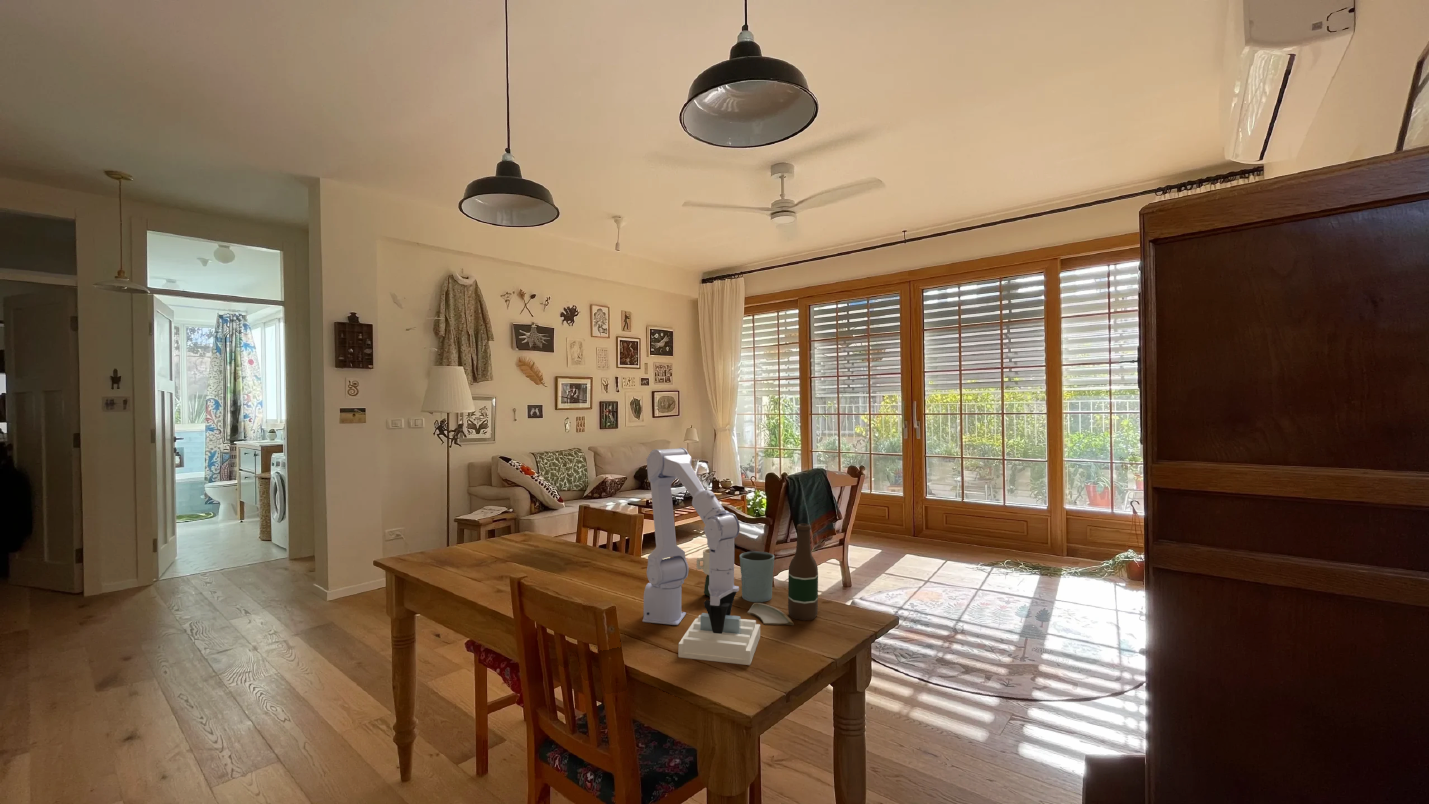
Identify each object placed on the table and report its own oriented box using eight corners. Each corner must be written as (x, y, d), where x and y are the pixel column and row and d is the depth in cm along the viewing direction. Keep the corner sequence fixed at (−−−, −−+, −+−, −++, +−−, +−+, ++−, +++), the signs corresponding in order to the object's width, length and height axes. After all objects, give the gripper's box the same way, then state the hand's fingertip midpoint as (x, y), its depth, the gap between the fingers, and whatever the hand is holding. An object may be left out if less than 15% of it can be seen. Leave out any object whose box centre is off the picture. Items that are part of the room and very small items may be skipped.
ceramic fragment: (794, 626, 144) (794, 611, 144) (781, 632, 141) (781, 616, 141) (752, 612, 154) (752, 598, 154) (739, 617, 150) (739, 603, 150)
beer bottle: (804, 623, 146) (805, 529, 145) (781, 614, 151) (782, 524, 151) (823, 615, 151) (824, 525, 151) (801, 607, 157) (801, 520, 156)
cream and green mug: (729, 590, 170) (729, 546, 170) (736, 598, 163) (736, 553, 163) (693, 593, 168) (694, 548, 168) (698, 601, 161) (699, 555, 161)
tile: (700, 641, 131) (700, 615, 131) (702, 638, 133) (702, 612, 133) (738, 646, 129) (739, 619, 129) (740, 642, 131) (740, 616, 131)
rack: (678, 657, 126) (678, 639, 126) (695, 630, 140) (695, 614, 140) (750, 665, 122) (750, 646, 122) (760, 636, 137) (760, 620, 137)
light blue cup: (748, 605, 158) (749, 561, 158) (733, 593, 167) (733, 552, 167) (780, 600, 162) (781, 558, 162) (763, 589, 172) (764, 549, 171)
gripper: (732, 578, 123) (732, 640, 123) (744, 559, 137) (743, 616, 138) (701, 575, 125) (700, 637, 125) (715, 557, 139) (715, 613, 139)
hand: (721, 626), depth 131 cm, fingers open, 7 cm apart
